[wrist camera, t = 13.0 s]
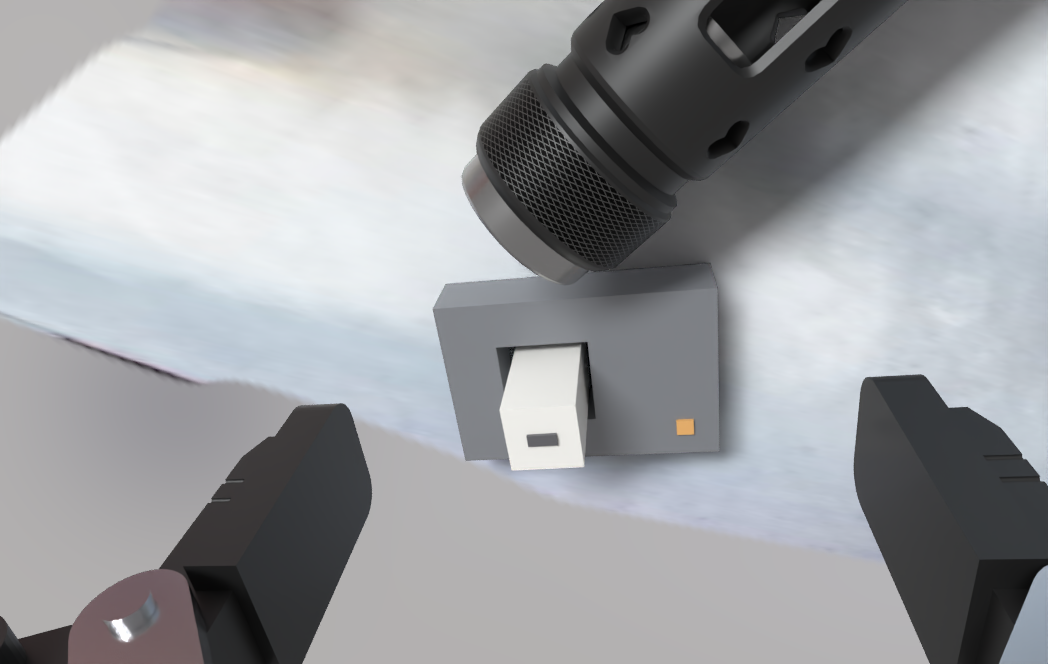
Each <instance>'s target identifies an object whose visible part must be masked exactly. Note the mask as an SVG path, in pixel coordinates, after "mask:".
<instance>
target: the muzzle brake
mask: <svg viewBox="0 0 1048 664" xmlns="http://www.w3.org/2000/svg"><path fill="white" fill-rule="evenodd" d="M906 1H908V0H604V2H602V3H601V4H600V5H599V6H598V7H597V8H596V9H595V10H594V11H593V12H592V13H591V14H590V15H589V16H588V17H587V18H586V19H585V20H584V21H583V22H582V24H581V25H580V26H579V27H578V28H577V29H576V30H575V31H574V33H573V35H572V38H571V53H570V54H569V55H568V56H567V57H566V58H565V59H564V60H563V61H562V62H561V63H560V64H559V65H558V67H557V66H553V65H550V64H544V65H543V66H542V67H541V68H540V69H539V70H537V69H534V70H531V71H530V72H529V73H528V74H527V75H526V76H525V77H524V78H523V79H522V80H521V81H520V82H519V84H518V85H517V86H516V87H515V88H514V89H513V90H512V91H511V93H510V94H509V95H508V96H507V97H506V98H505V99H504V100H503V101H502V103H501V104H500V105H499V106H498V107H497V108H496V109H495V110H494V111H493V113H492V114H491V115H490V116H489V117H488V118H487V119H486V120H485V122H484V123H483V124H482V125H481V127H480V130H479V133H478V137H477V143H476V150H477V154H476V155H475V157H474V158H473V159H472V160H471V161H470V162H469V163H468V164H467V165H466V166H465V168H464V171H463V173H462V185H463V188H464V191H465V194H466V196H467V198H468V200H469V202H470V204H471V206H472V208H473V209H474V211H475V213H476V214H477V216H478V217H479V219H480V220H481V222H482V223H483V224H484V226H485V227H486V228H487V230H488V231H489V232H490V233H491V234H492V236H493V237H494V238H495V239H496V240H497V241H498V242H499V244H500V245H501V246H502V247H503V248H504V249H505V250H507V251H508V252H509V253H510V254H511V255H512V256H513V257H514V258H515V259H516V260H518V261H519V262H520V263H521V264H522V265H524V266H525V267H527V268H528V269H529V270H531V271H532V272H534V273H535V274H537V275H539V276H540V277H542V278H544V279H546V280H548V281H550V282H553V283H555V284H559V285H564V286H565V285H572V284H574V283H575V282H577V281H578V280H579V279H580V278H581V277H582V276H584V275H585V274H586V273H587V272H588V271H589V270H590V271H603V270H609V269H613V268H615V267H616V266H617V265H618V264H620V263H621V262H622V261H623V260H624V259H625V258H626V257H628V256H629V255H630V254H631V253H632V252H633V251H634V250H635V249H637V248H638V247H639V246H640V245H641V244H642V243H643V242H645V241H646V240H647V239H648V238H649V237H650V236H651V235H653V234H654V233H655V232H656V231H657V230H658V229H659V228H660V227H662V226H663V225H664V224H665V223H666V222H667V221H668V220H669V219H670V218H671V211H672V210H673V209H674V208H675V207H676V206H677V200H676V196H675V192H677V191H678V190H679V189H680V188H681V187H682V186H683V185H684V184H685V183H686V182H687V181H689V180H698V181H701V180H703V179H706V178H708V177H709V176H710V175H711V174H712V173H713V172H715V171H716V170H717V169H718V168H719V167H720V166H721V165H723V164H724V163H725V162H726V161H727V160H728V159H729V158H730V157H732V156H733V155H734V154H735V153H736V152H737V151H738V150H739V149H741V148H742V147H743V146H744V145H745V144H746V143H747V142H748V141H750V140H751V139H752V138H753V137H754V136H755V135H756V134H757V133H759V132H760V131H761V130H762V129H763V128H764V127H765V126H767V125H768V124H769V123H770V122H771V121H772V120H773V119H774V118H776V117H777V116H778V115H779V114H780V113H781V112H782V111H783V110H785V109H786V108H787V107H788V106H789V105H790V104H791V103H792V102H794V101H795V100H796V99H797V98H798V97H799V96H800V95H801V94H803V93H804V92H805V91H806V90H807V89H808V88H809V87H811V86H812V85H813V84H814V83H815V82H816V81H817V80H818V79H820V78H821V77H822V76H823V75H824V74H825V73H826V72H827V71H829V70H830V69H831V68H832V67H833V66H834V65H835V64H836V63H838V62H839V61H840V60H841V59H842V58H843V57H844V56H845V55H847V54H848V53H849V52H850V51H851V50H852V49H853V48H855V47H856V46H857V45H858V44H859V43H860V42H861V41H862V40H864V39H865V38H866V37H867V36H868V35H869V34H870V33H871V32H873V31H874V30H875V29H876V28H877V27H878V26H879V25H880V24H882V23H883V22H884V21H885V20H886V19H887V18H888V17H889V16H891V15H892V14H893V13H894V12H895V11H896V10H897V9H899V8H900V7H901V6H902V5H903V4H904V3H905V2H906ZM800 15H805V16H804V17H803V18H802V19H801V20H800V21H799V22H798V23H797V24H796V25H795V26H794V27H793V28H792V29H791V30H790V31H788V32H787V33H786V34H785V35H784V36H783V37H782V38H781V39H780V40H779V41H778V42H777V43H776V44H775V40H774V39H775V35H776V30H777V26H778V20H779V18H784V17H793V16H800Z"/></svg>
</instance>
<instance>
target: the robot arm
mask: <svg viewBox="0 0 1048 664" xmlns="http://www.w3.org/2000/svg"><path fill="white" fill-rule="evenodd" d="M1039 477H1040V476H1039V475H1038V473H1037V472H1036V471H1035V470H1034V468H1033V467H1032V466H1031V465H1030V463H1029V462H1028V461H1027V460H1026V459H1023V458H1022V453H1021V452H1020V451H1019V450H1018V448H1017V447H1016V446H1015V445H1014V443H1013V442H1012V441H1011V440H1010V438H1009V437H1008V436H1007V435H1006V433H1005V432H1004V431H1003V430H1002V429H1001V428H1000V427H998V426H997V425H995V424H994V423H992V422H990V421H989V420H987V419H986V418H984V417H982V416H981V415H979V414H978V413H976V412H974V411H973V410H971V409H970V408H968V407H958V408H948V407H947V405H946V404H945V402H944V401H943V400H942V398H941V397H940V396H939V394H938V393H937V391H936V390H935V389H934V387H933V386H932V385H931V383H930V382H929V380H928V379H927V378H926V377H925V376H924V375H921V374H920V375H901V376H882V377H867V378H865V379H864V381H863V383H862V386H861V392H860V402H859V412H858V423H857V433H856V444H855V454H854V479H855V486H856V492H857V496H858V499H859V502H860V505H861V507H862V510H863V512H864V514H865V517H866V519H867V521H868V523H869V526H870V528H871V530H872V533H873V535H874V537H875V539H876V542H877V544H878V546H879V549H880V551H881V553H882V555H883V558H884V560H885V562H886V565H887V567H888V569H889V571H890V573H891V576H892V578H893V581H894V582H895V585H896V587H897V590H898V592H899V594H900V596H901V599H902V601H903V603H904V605H905V608H906V610H907V612H908V614H909V617H910V619H911V622H912V624H913V626H914V628H915V631H916V633H917V635H918V637H919V640H920V642H921V644H922V647H923V649H924V651H925V654H926V656H927V658H928V660H929V663H930V664H1048V486H1047V484H1046V483H1045V482H1041V481H1040V478H1039ZM371 499H372V486H371V479H370V474H369V471H368V468H367V464H366V461H365V458H364V454H363V451H362V448H361V444H360V441H359V438H358V434H357V431H356V428H355V424H354V421H353V418H352V415H351V412H350V410H349V408H348V407H347V406H346V405H345V404H341V403H340V404H320V405H301V406H298V407H296V408H295V409H294V410H293V412H292V413H291V414H290V416H289V417H288V419H287V420H286V422H285V423H284V424H283V426H282V427H281V429H280V430H279V431H278V433H277V434H276V436H275V437H268V438H266V439H265V440H264V441H262V442H261V443H260V444H259V445H257V446H256V447H255V448H253V449H252V450H251V451H249V452H248V453H247V454H246V455H244V456H243V457H242V458H241V460H240V461H239V462H238V463H237V465H236V466H235V467H234V469H233V470H232V471H231V473H230V474H229V476H228V477H227V479H226V483H225V484H222V485H221V486H220V488H219V489H218V490H217V492H216V493H215V494H214V496H213V497H212V502H211V503H208V504H207V505H206V506H205V508H204V509H203V510H202V512H201V513H200V514H199V516H198V517H197V518H196V520H195V521H194V522H193V524H192V525H191V526H190V528H189V529H188V530H187V532H186V533H185V535H184V536H183V538H182V539H181V540H180V541H179V543H178V544H177V545H176V547H175V548H174V550H173V551H172V552H171V553H170V555H169V556H168V557H167V559H166V560H165V561H164V563H163V564H162V565H161V567H160V568H159V569H155V570H149V571H145V572H141V573H138V574H135V575H132V576H130V577H127V578H125V579H123V580H121V581H119V582H117V583H116V584H114V585H112V586H111V587H109V588H107V589H106V590H105V591H103V592H102V593H100V594H99V595H98V596H97V597H95V598H94V599H93V600H92V601H91V602H90V603H89V604H88V605H87V606H86V607H85V608H84V609H83V610H82V611H81V613H80V614H79V616H78V617H77V618H76V620H75V622H74V623H73V625H69V626H66V627H62V628H58V629H55V630H51V631H47V632H43V633H39V634H36V635H32V636H28V637H24V638H21V639H17V637H16V636H15V634H14V633H13V632H12V630H11V629H10V627H9V626H8V624H7V623H6V621H5V620H4V619H3V618H2V617H1V616H0V664H302V663H303V661H304V658H305V656H306V653H307V652H308V649H309V647H310V645H311V643H312V640H313V638H314V636H315V634H316V631H317V629H318V627H319V625H320V622H321V620H322V618H323V615H324V613H325V611H326V609H327V607H328V604H329V602H330V600H331V598H332V595H333V593H334V591H335V589H336V586H337V584H338V582H339V579H340V577H341V575H342V573H343V570H344V568H345V566H346V564H347V562H348V559H349V557H350V555H351V553H352V550H353V548H354V545H355V543H356V541H357V539H358V537H359V534H360V532H361V530H362V528H363V526H364V523H365V521H366V519H367V517H368V514H369V510H370V506H371Z"/></svg>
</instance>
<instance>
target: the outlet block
mask: <svg viewBox="0 0 1048 664" xmlns="http://www.w3.org/2000/svg"><path fill="white" fill-rule="evenodd" d="M433 313H434V317H435V322H436V326H437V331H438V336H439V340H440V345H441V350H442V354H443V359H444V363H445V368H446V373H447V377H448V382H449V386H450V391H451V396H452V400H453V405H454V409H455V414H456V419H457V423H458V428H459V432H460V437H461V442H462V446H463V451H464V455H465V460H466V461H470V460H497V459H509V455H508V450H507V445H506V440H505V435H504V430H503V425H502V420H501V415H500V411H499V410H500V406H501V402H502V398H503V394H504V391H505V387H506V383H507V379H508V375H509V371H510V367H511V358H510V352H509V347H513V346H529V345H545V344H561V343H577V342H588V351H589V360H590V369H591V378H592V388H590V389H589V401H588V417H587V432H586V448H585V456H607V455H635V454H662V453H690V452H717V451H719V370H718V288H717V285H716V281H715V278H714V274H713V271H712V268H711V264H710V263H705V264H692V265H680V266H667V267H655V268H642V269H630V270H617V271H605V272H592V273H586V274H585V275H584V276H582V277H581V278H580V279H579V280H578V281H577V282H575V283H574V284H572V285H565V286H564V285H559V284H555V283H553V282H550V281H548V280H546V279H544V278H542V277H529V278H517V279H504V280H491V281H479V282H466V283H454V284H445V286H444V288H443V290H442V292H441V294H440V296H439V298H438V300H437V302H436V304H435V306H434V307H433Z"/></svg>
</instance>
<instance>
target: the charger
mask: <svg viewBox="0 0 1048 664" xmlns="http://www.w3.org/2000/svg"><path fill="white" fill-rule="evenodd" d="M589 385H590V376H589V368H588V361H587V353H586V345H585V342H577V343H561V344H545V345H529V346H516V348H515V352H514V356H513V359H512V363H511V367H510V371H509V375H508V379H507V383H506V387H505V391H504V394H503V398H502V402H501V406H500V410H499V411H500V415H501V420H502V425H503V430H504V435H505V440H506V445H507V450H508V455H509V460H510V465H511V469H512V471H514V470H534V469H555V468H575V467H584V464H585V448H586V432H587V417H588V401H589Z"/></svg>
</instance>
